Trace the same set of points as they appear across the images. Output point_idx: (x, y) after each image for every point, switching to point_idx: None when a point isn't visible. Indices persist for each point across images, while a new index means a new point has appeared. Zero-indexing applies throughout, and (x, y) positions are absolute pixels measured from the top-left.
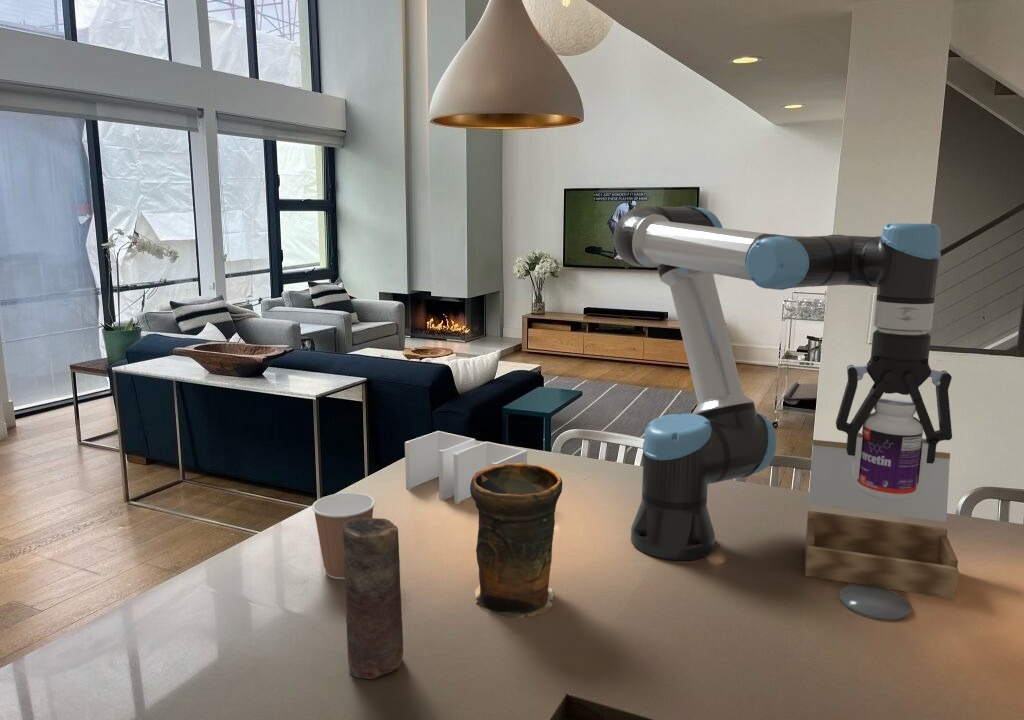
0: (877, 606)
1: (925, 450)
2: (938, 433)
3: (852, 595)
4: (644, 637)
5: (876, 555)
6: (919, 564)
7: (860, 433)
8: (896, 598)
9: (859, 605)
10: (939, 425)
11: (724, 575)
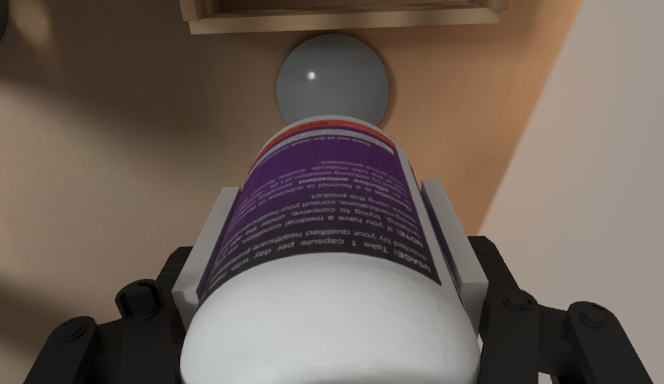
0: None
1: None
2: (540, 370)
3: (297, 93)
4: (74, 287)
5: (335, 14)
6: (421, 25)
7: (194, 298)
8: (369, 74)
9: None
10: (580, 358)
11: (79, 87)
